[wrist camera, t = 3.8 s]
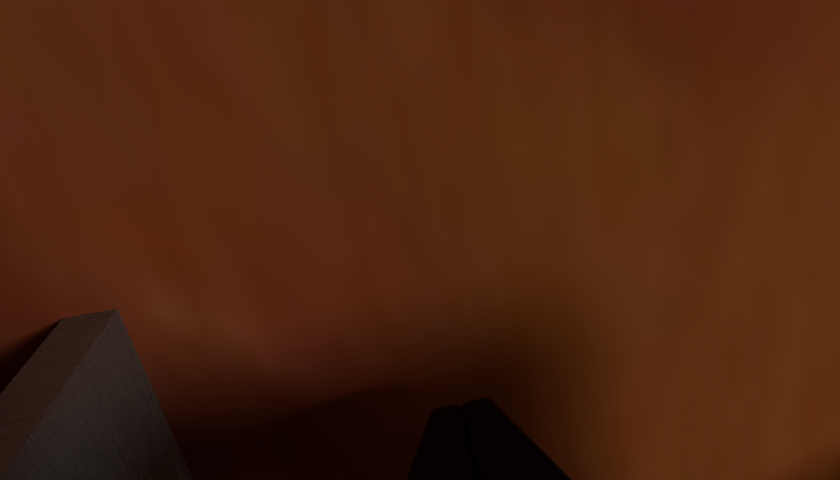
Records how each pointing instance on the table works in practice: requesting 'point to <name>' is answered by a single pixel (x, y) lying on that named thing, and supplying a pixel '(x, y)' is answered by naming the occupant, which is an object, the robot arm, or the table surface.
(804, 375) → the table surface
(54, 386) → the air tube
